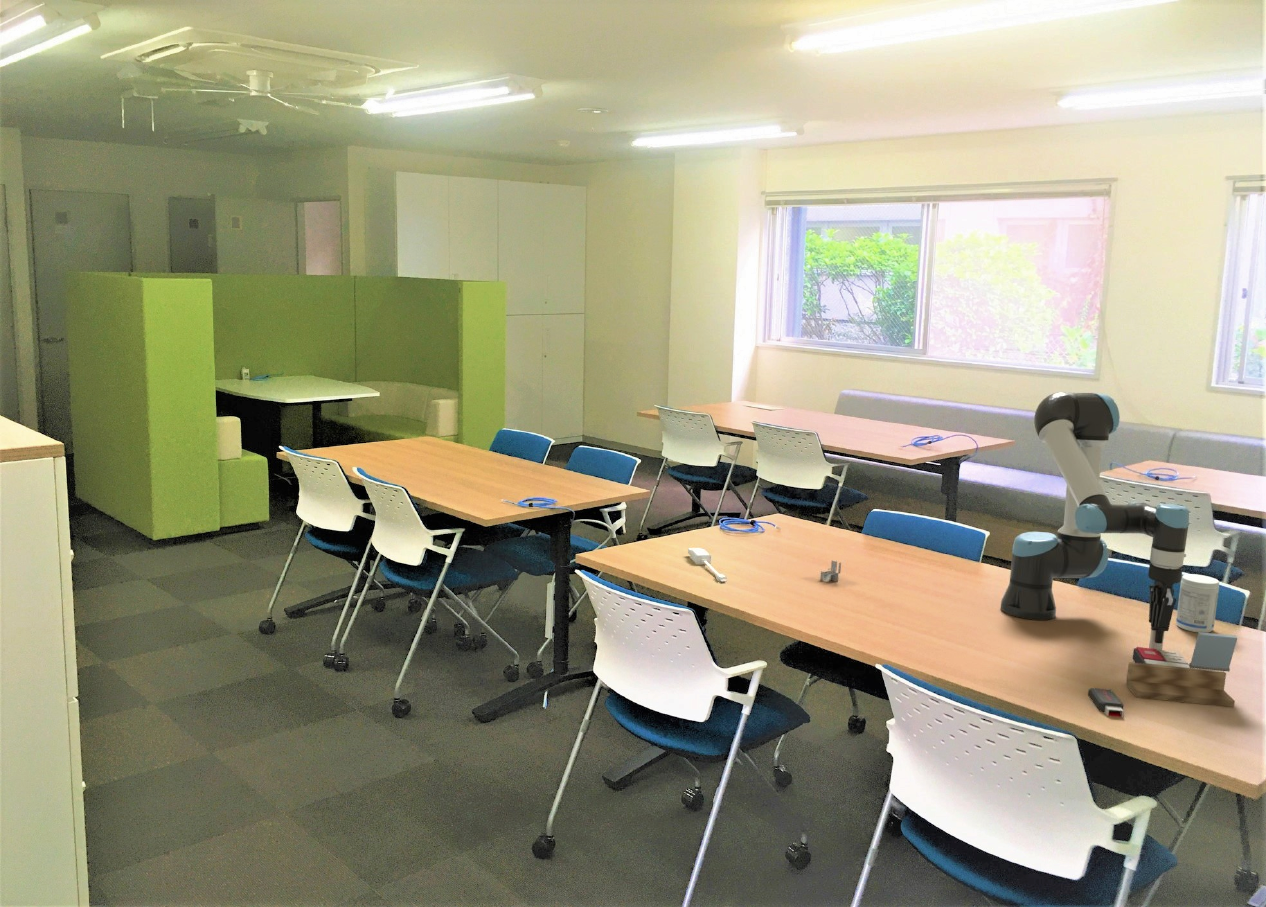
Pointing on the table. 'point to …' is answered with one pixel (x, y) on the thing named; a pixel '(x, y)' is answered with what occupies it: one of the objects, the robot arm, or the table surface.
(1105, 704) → the usb drive
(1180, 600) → the supplement tub
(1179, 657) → the calculator
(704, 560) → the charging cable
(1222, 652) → the light blue flat tile
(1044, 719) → the table surface
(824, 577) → the architectural model
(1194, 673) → the wooden l-shaped bracket
